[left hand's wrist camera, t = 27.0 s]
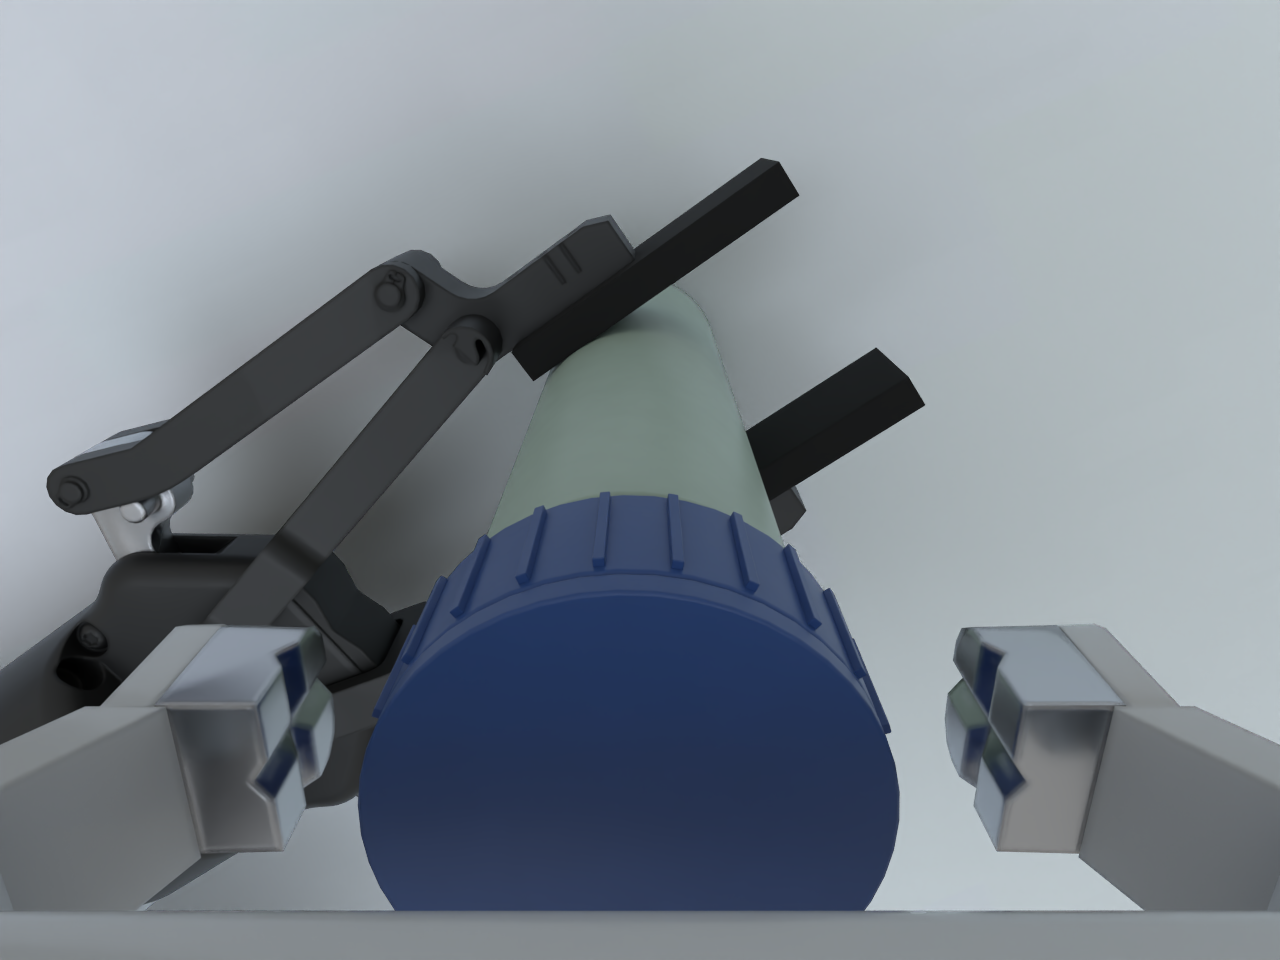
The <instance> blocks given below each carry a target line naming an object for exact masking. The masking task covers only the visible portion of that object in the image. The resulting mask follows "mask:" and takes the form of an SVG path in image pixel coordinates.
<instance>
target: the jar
mask: <svg viewBox="0 0 1280 960" xmlns="http://www.w3.org/2000/svg"><path fill="white" fill-rule="evenodd" d="M600 492H610V495H611V496H619V495H634V496H657V497H663V498H667V497H668V494H675V495H678V498H679V500H683V501H687V502H691V503H695V504H698V505H702V506H705V507H709V508H712V509H716V510H718V511H720V512H723V513H725V514H727V515H730V516H731V514H732V513H733V512H736V513H738V514H741V515H742V517H743V521H744V522H746V523H747V524H749V525H751V526H752V527H754V528H756V529H758V530H759V531H761V532H763V533H764V534H766V535H768V536H769V537H771V538H772V539H773V540H775V541H776V542H777V543H778V544H780V545H781V546H782V547H784V544H783V541H782V538H781V535H780V532H779V529H778V526H777V523H776V520H775V517H774V514H773V511H772V508H771V505H770V502H769V499H768V496H767V493H766V491H765V488H764V485H763V482H762V479H761V476H760V473H759V470H758V467H757V464H756V461H755V458H754V455H753V452H752V449H751V446H750V443H749V440H748V437H747V434H746V431H745V428H744V425H743V422H742V419H741V416H740V413H739V411H738V408H737V405H736V402H735V399H734V396H733V393H732V390H731V387H730V384H729V381H728V378H727V375H726V372H725V369H724V366H723V363H722V360H721V357H720V354H719V351H718V348H717V345H716V342H715V339H714V336H713V333H712V330H711V328H710V325H709V323H708V320H707V318H706V317H705V315H704V313H703V311H702V310H701V309H700V307H699V306H698V305H697V303H696V302H695V301H694V300H693V299H692V298H691V297H690V296H689V295H687V294H686V293H685V292H683V291H682V290H680V289H679V288H677V287H675V286H674V285H670V286H669V287H668V288H666V289H665V290H663V291H662V292H660V293H659V294H658V295H656V296H655V297H653V298H652V299H650V300H649V301H648V302H646V303H645V304H643V305H642V306H640V307H639V308H638V309H636V310H635V311H633V312H632V313H630V314H629V315H628V316H626V317H625V318H623V319H622V320H620V321H619V322H617V323H616V324H615V325H613V326H612V327H610V328H609V329H607V330H606V331H605V332H603V333H602V334H600V335H599V336H597V337H596V338H595V339H593V340H592V341H590V342H589V343H587V344H586V345H585V346H583V347H582V348H580V349H579V350H577V351H576V352H575V353H573V354H572V355H570V356H569V357H567V358H566V359H565V360H563V361H562V362H560V363H559V364H557V365H556V366H555V367H553V368H552V369H551V370H550V373H549V376H548V378H547V381H546V383H545V386H544V389H543V391H542V394H541V396H540V399H539V402H538V404H537V407H536V409H535V412H534V415H533V417H532V420H531V422H530V425H529V428H528V430H527V433H526V435H525V438H524V441H523V443H522V446H521V448H520V451H519V454H518V456H517V459H516V461H515V464H514V467H513V469H512V472H511V474H510V477H509V480H508V482H507V485H506V487H505V490H504V493H503V495H502V498H501V500H500V503H499V506H498V508H497V511H496V513H495V516H494V519H493V521H492V524H491V526H490V529H489V532H488V534H487V536H488V537H489V538H491V537H493V536H494V535H495V534H497V533H498V532H500V531H501V530H503V529H504V528H506V527H508V526H510V525H512V524H514V523H516V522H518V521H520V520H522V519H524V518H526V517H528V516H530V515H532V514H533V512H534V509H535V508H536V507H539V506H542V505H544V507H545V509H549V508H552V507H555V506H558V505H561V504H566V503H570V502H575V501H579V500H584V499H589V498H597V497H599V496H600ZM784 548H785V547H784Z"/></svg>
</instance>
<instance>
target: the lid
mask: <svg viewBox="0 0 1280 960" xmlns="http://www.w3.org/2000/svg"><path fill="white" fill-rule="evenodd" d="M372 717H375V718H378V721H377V724H376V726H375V728H374V731H373V733H372V736H371V738H370V740H369V743H368V745H367V748H366V751H365V755H364V760H363V764H362V769H361V773H360V778H359V795H358V810H359V820H360V829H361V836H362V840H363V843H364V847H365V850H366V854H367V857H368V861H369V864H370V866H371V868H372V870H373V873H374V875H375V877H376V879H377V881H378V884H379V886H380V888H381V889H382V891H383V893H384V894H385V896H386V897H387V899H388V900H389V902H390V903H391V905H392V907H393V908H394V910H395V911H864V910H865V909H866V908H867V906H868V905H869V904H870V902H871V901H872V899H873V897H874V895H875V893H876V891H877V890H878V888H879V886H880V884H881V882H882V880H883V878H884V876H885V874H886V871H887V868H888V865H889V862H890V859H891V857H892V854H893V851H894V846H895V841H896V835H897V830H898V824H899V796H900V792H899V786H898V779H897V773H896V766H895V762H894V759H893V756H892V753H891V750H890V747H889V744H888V741H887V738H886V735H885V734H887V733H891V729H890V725H889V722H888V720H887V717H886V715H885V713H884V710H883V708H882V705H881V703H880V700H879V698H878V696H877V693H876V691H875V688H874V686H873V683H872V681H871V679H870V676H869V674H868V671H867V669H866V667H865V664H864V662H863V659H862V657H861V654H860V652H859V650H858V647H857V645H856V642H855V640H854V639H852V637H851V634H850V632H849V629H848V627H847V625H846V622H845V620H844V617H843V615H842V612H841V610H840V607H839V605H838V603H837V600H836V598H835V595H834V593H833V592H832V590H831V589H830V588H828V589H826V590H825V591H823V589H822V588H821V587H820V585H819V584H818V583H817V581H816V580H815V578H814V577H813V576H812V574H811V573H810V572H809V571H808V570H807V569H806V568H805V567H804V566H803V565H802V564H801V563H800V561H799V558H798V555H797V553H796V550H795V549H794V548H793V547H792V546H791V545H789V544H788V545H787V546H786V547H785V548H784V547H782V546H781V545H780V544H778V543H777V542H776V541H775V540H773V539H772V538H771V537H769V536H768V535H766V534H764V533H763V532H761V531H759V530H758V529H756V528H754V527H752V526H751V525H749V524H747V523H746V522H744V521H743V517H742V515H741V514H738V513H736V512H733V513H732V514H731V516H730V515H727V514H725V513H723V512H720V511H718V510H716V509H712V508H709V507H705V506H702V505H698V504H695V503H691V502H687V501H683V500H679V498H678V495H675V494H668V497H667V498H663V497H657V496H634V495H619V496H611V495H610V492H600V496H599V497H597V498H589V499H584V500H579V501H575V502H570V503H566V504H561V505H558V506H555V507H552V508H549V509H545V507H544V505H542V506H539V507H536V508H535V509H534V512H533V514H532V515H530V516H528V517H526V518H524V519H522V520H520V521H518V522H516V523H514V524H512V525H510V526H508V527H506V528H504V529H503V530H501V531H500V532H498V533H497V534H495V535H494V536H493V537H491V538H489V537H488V536H487V535H486V534H485V535H484V536H482V537H481V538H479V539H478V542H477V544H476V547H475V549H474V551H473V552H472V553H471V554H470V555H469V556H467V557H466V558H465V559H464V560H463V561H462V562H461V563H460V564H459V565H458V566H457V567H456V569H455V570H454V571H453V572H452V573H451V575H450V576H449V577H448V578H447V579H446V578H445V577H443V576H440V577H439V579H438V580H437V581H436V583H435V585H434V588H433V590H432V592H431V594H430V596H429V598H428V601H427V603H426V605H425V607H424V609H423V612H422V614H421V616H420V618H419V620H418V622H417V625H413V626H412V628H411V630H410V632H409V634H408V636H407V639H406V641H405V643H404V645H403V647H402V649H401V652H400V654H399V656H398V658H397V660H396V662H395V664H394V667H393V669H392V671H391V673H390V675H389V677H388V680H387V682H386V684H385V686H384V688H383V690H382V692H381V695H380V697H379V699H378V701H377V703H376V705H375V707H374V710H373V713H372Z"/></svg>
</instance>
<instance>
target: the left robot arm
mask: <svg viewBox="0 0 1280 960" xmlns="http://www.w3.org/2000/svg"><path fill="white" fill-rule="evenodd" d="M326 661H327V657H326V652H325V647H324V642H323V636H322V634H321V633H320V632H319V631H318V629H317V628H316V627H315V626H266V625H228V626H227V625H225V624H202V625H183V626H178V627H175V628H174V629H173V630H172V631H171V632H170V633H169V634H168V635H167V636H166V638H165V639H164V640H163V641H162V642H161V643H160V644H159V645H158V646H157V647H156V648H155V649H154V650H153V651H152V652H151V653H150V654H149V655H148V656H147V657H146V659H145V660H144V661H143V662H142V663H141V664H140V665H139V666H138V667H137V668H136V669H135V670H134V671H133V672H132V673H131V674H130V675H129V676H128V677H127V678H126V680H125V681H124V682H123V683H122V684H121V685H120V686H119V687H118V688H117V689H116V690H115V691H114V692H113V693H112V694H111V695H110V696H109V697H108V698H107V699H106V701H105V702H104V703H103V704H102V705H101V706H88V707H83V708H81V709H78V710H76V711H74V712H72V713H70V714H67V715H65V716H63V717H61V718H59V719H56V720H54V721H52V722H50V723H47V724H45V725H43V726H41V727H39V728H36V729H34V730H32V731H30V732H28V733H25V734H23V735H21V736H19V737H16V738H14V739H12V740H10V741H8V742H5V743H3V744H1V745H0V960H1280V745H1279V744H1277V743H1274V742H1272V741H1270V740H1268V739H1266V738H1263V737H1261V736H1259V735H1257V734H1255V733H1252V732H1250V731H1248V730H1246V729H1244V728H1241V727H1239V726H1237V725H1235V724H1232V723H1230V722H1228V721H1226V720H1224V719H1221V718H1219V717H1217V716H1215V715H1213V714H1210V713H1208V712H1206V711H1204V710H1202V709H1199V708H1197V707H1193V706H1179V705H1178V704H1177V703H1176V702H1175V700H1174V699H1173V698H1172V697H1171V696H1170V695H1169V694H1168V693H1167V692H1166V691H1165V690H1164V689H1163V688H1162V687H1161V686H1160V685H1159V684H1158V683H1157V682H1156V680H1155V679H1154V678H1153V677H1152V676H1151V675H1150V674H1149V673H1148V672H1147V671H1146V670H1145V669H1144V668H1143V667H1142V666H1141V665H1140V664H1139V663H1138V662H1137V660H1136V659H1135V658H1134V657H1133V656H1132V655H1131V654H1130V653H1129V652H1128V651H1127V650H1126V649H1125V648H1124V647H1123V646H1122V645H1121V644H1120V643H1119V642H1118V640H1117V639H1116V638H1115V637H1114V636H1113V635H1112V634H1111V633H1110V632H1109V631H1108V630H1107V629H1106V628H1104V627H1102V626H1099V625H1096V624H1076V625H1044V626H1004V627H969V628H962V629H961V631H960V633H959V636H958V638H957V640H956V645H955V651H954V657H953V661H954V663H955V665H956V666H957V668H958V670H959V672H960V673H961V675H962V677H963V678H962V679H961V680H960V681H959V682H958V684H957V685H956V686H955V687H954V688H953V689H952V690H951V691H950V692H949V693H948V696H947V705H946V713H945V727H946V739H947V745H948V749H949V753H950V756H951V760H952V762H953V764H954V766H955V769H956V771H957V773H958V775H959V777H961V778H962V779H964V780H965V781H967V782H968V783H970V784H971V785H973V786H974V787H976V794H975V800H974V807H975V809H976V811H977V813H978V815H979V817H980V819H981V821H982V823H983V825H984V827H985V829H986V831H987V833H988V835H989V837H990V839H991V841H992V843H993V845H994V847H995V849H996V851H1004V852H1040V853H1077V854H1079V858H1080V859H1081V860H1083V861H1084V862H1085V863H1086V864H1088V865H1089V866H1090V867H1091V868H1093V869H1094V870H1095V871H1096V872H1098V873H1099V874H1100V875H1101V876H1102V877H1104V878H1105V879H1106V880H1107V881H1109V882H1110V883H1111V884H1112V885H1114V886H1115V887H1116V888H1117V889H1119V890H1120V891H1121V892H1122V893H1124V894H1125V895H1126V896H1127V897H1128V898H1130V899H1131V900H1132V901H1133V902H1135V903H1136V904H1137V905H1138V906H1140V907H1141V908H1142V909H1143V910H1145V911H136V910H137V909H138V908H139V907H141V906H142V905H143V904H144V903H146V902H147V901H148V900H149V899H151V898H152V897H153V896H154V895H156V894H157V893H158V892H159V891H161V890H162V889H163V888H164V887H166V886H167V885H168V884H169V883H170V882H172V881H173V880H174V879H175V878H177V877H178V876H179V875H180V874H182V873H183V872H184V871H185V870H187V869H188V868H189V867H190V866H192V865H193V864H194V863H195V862H197V861H198V860H199V859H200V858H201V854H203V853H238V852H274V851H284V849H285V847H286V845H287V843H288V841H289V839H290V837H291V835H292V833H293V831H294V829H295V827H296V825H297V823H298V821H299V819H300V817H301V815H302V813H303V811H304V809H305V807H306V800H305V793H304V787H306V786H307V785H309V784H310V783H312V782H313V781H315V780H316V779H318V778H319V777H321V775H322V773H323V771H324V768H325V766H326V764H327V762H328V760H329V757H330V753H331V748H332V743H333V738H334V733H335V710H334V703H333V696H332V693H331V692H330V691H329V690H328V689H327V688H326V687H325V686H324V685H323V684H322V682H321V681H320V680H319V679H318V678H317V677H318V675H319V673H320V672H321V670H322V668H323V666H324V665H325V663H326Z"/></svg>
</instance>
